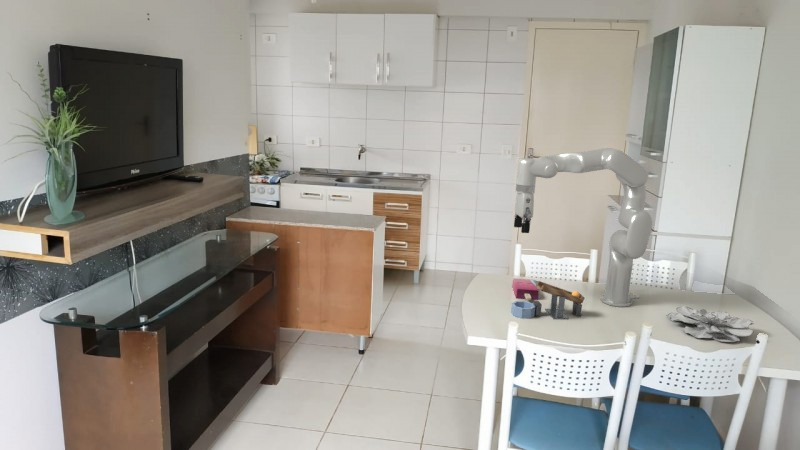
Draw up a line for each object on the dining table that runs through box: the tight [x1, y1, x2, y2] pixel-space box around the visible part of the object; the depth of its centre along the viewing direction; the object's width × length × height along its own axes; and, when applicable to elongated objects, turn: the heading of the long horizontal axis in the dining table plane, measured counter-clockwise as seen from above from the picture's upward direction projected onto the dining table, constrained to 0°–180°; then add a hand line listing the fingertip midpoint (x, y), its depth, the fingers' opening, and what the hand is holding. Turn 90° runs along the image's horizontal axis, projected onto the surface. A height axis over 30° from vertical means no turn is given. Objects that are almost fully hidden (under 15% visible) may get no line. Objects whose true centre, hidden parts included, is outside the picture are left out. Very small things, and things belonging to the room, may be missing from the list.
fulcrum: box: [532, 294, 583, 320], centre depth 231 cm, size 19×10×9 cm, turn 96°
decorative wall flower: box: [665, 304, 755, 343], centre depth 225 cm, size 30×7×30 cm
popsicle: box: [511, 277, 539, 301], centre depth 253 cm, size 9×5×20 cm
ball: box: [571, 290, 581, 297], centre depth 231 cm, size 3×3×3 cm
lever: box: [530, 278, 585, 304], centre depth 234 cm, size 18×13×3 cm
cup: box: [510, 300, 535, 319], centre depth 231 cm, size 9×9×4 cm
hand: (521, 229), depth 239 cm, fingers open, 9 cm apart
